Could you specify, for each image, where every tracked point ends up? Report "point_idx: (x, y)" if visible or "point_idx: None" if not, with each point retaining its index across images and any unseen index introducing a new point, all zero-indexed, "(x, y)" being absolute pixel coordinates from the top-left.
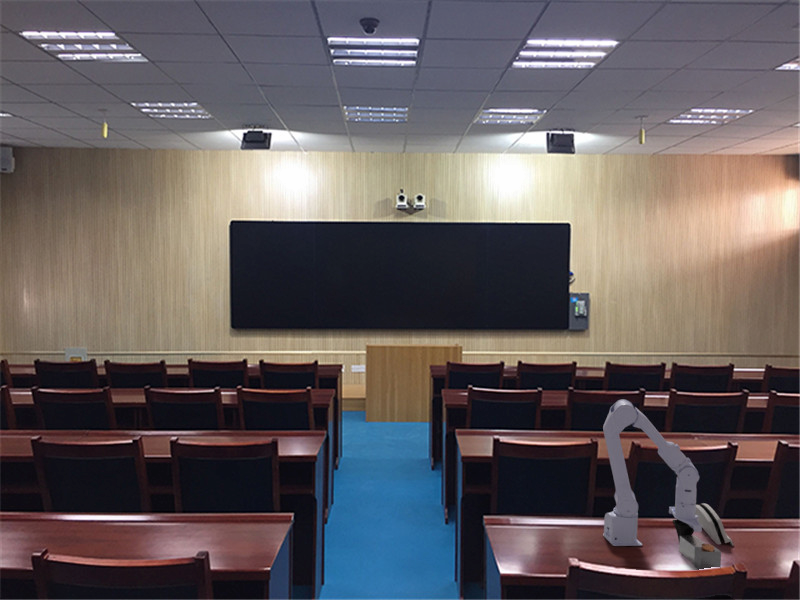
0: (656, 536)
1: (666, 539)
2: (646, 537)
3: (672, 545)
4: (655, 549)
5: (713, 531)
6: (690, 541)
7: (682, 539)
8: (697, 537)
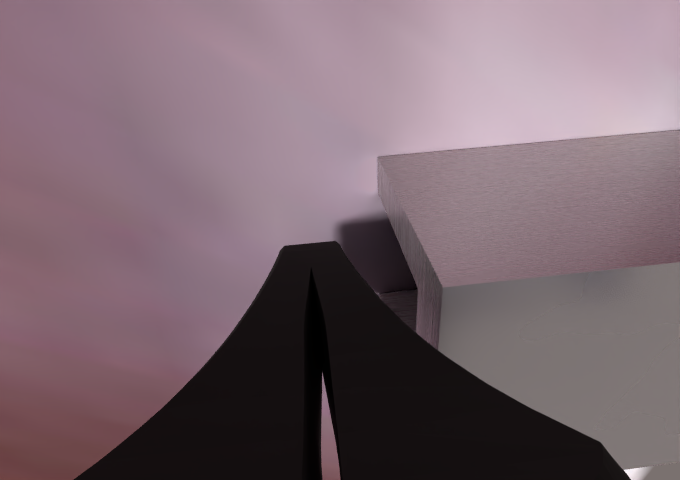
0: (5, 394)
1: (57, 330)
2: (76, 469)
3: (223, 325)
4: (334, 464)
5: None
6: (652, 437)
7: None
8: (544, 277)
